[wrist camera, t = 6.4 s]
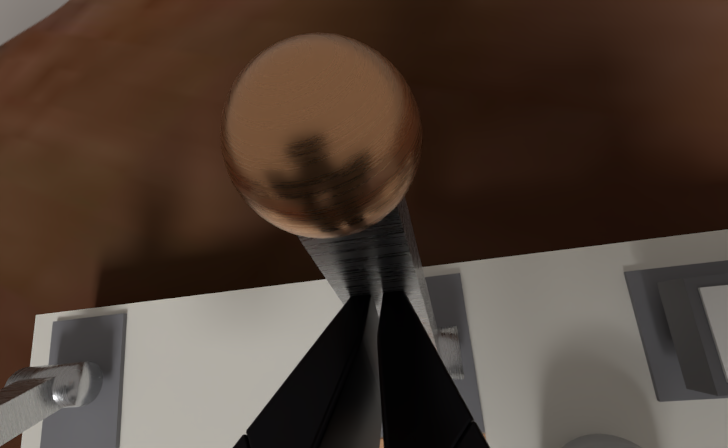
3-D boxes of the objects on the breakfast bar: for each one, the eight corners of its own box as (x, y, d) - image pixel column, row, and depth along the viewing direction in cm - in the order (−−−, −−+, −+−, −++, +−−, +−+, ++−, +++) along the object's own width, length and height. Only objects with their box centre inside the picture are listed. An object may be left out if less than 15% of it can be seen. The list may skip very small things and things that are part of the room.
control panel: (871, 575, 13) (1004, 656, 10) (73, 563, 18) (-4, 612, 15) (752, 236, 15) (825, 216, 12) (92, 315, 21) (31, 315, 18)
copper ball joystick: (468, 401, 12) (431, 104, 3) (379, 406, 13) (134, 163, 4) (455, 321, 14) (406, -35, 5) (377, 329, 14) (197, 20, 5)
